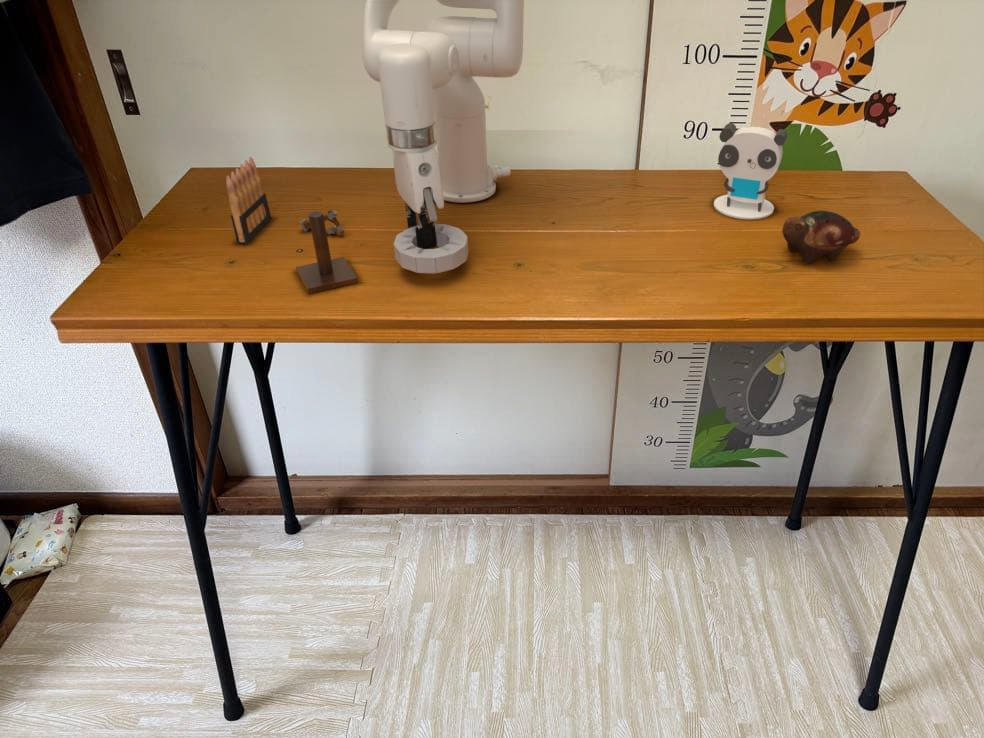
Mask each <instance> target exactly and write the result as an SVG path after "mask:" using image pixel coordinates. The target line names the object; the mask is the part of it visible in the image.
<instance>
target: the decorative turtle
mask: <svg viewBox="0 0 984 738" xmlns="http://www.w3.org/2000/svg"><path fill="white" fill-rule="evenodd" d="M781 232H782V236H783V238H784V240H785V241H786V246H787V250H788V252H790V253H797V252H799V254H800V256H801V257H802V260H803V262H804V263H805V264H806V265H810V264H811V265H812V264H813V263H815V262H816V261H817V260H819V259H820V258H821V257H824V258H825V259H826V261H828V262H834V261H835V260H836V259H837V258H838V257H839V256H840V255H841V254H842V252H843V251H844V250H845V249H846V248H847V247H848V246H850V245H853V244H855V243H856V242H857V241H858V240H859V239H860V237H861V232H860V230H859V229H858V228H857V227H854V226H853V224H852V223H851V222H850V220H848V219H847V218H846V217H844V216H843V215H840V214H838V213H837V212H833V211H827V210H815V211H811V212H808V213H805V214H803V215H801V216H798V215H793V216H790V217H788V218H787V219H786V221H784V223H783V226H782V229H781Z"/></svg>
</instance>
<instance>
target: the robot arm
mask: <svg viewBox="0 0 984 738" xmlns="http://www.w3.org/2000/svg"><path fill="white" fill-rule="evenodd" d="M399 1H400V0H366V2H365V5H364V11H363V25H362V26H363V28H362V60H363V65H364V69H365V71H366V73H367V75H368V76H369V78H371V80H373V81H376V82H378V83H379V84H380V92H381V101H382V109H383V116H384V126H385V131H386V132H385V133H386V141H387V146H388V148H390V149H391V150H392V157H393V160H392V161H393V169H394V170H393V171H394V179H395V185H396V189H397V193H398V195H399V196H400V198H401V199H402V200H403V201H404V206H405V215H406V223H407V229H408V228H410V227H414V226H417V227H415V230H416V239H417V247H418V248H421V249H435V248H437V247H436V246H437V243H436V232H435V224H436V222H437V221H438V215H437V212H436V211H437V210H436V208H437V209H439V210H443V209H444V207H445V201H446V202H450V203H461V204H462V203H463V204H464V203H465V204H467V203H476V202H480V201H483V200H486V199H488V198H490V197H492V196H493V195H494V194H495V193H496V190H497V184H496V182H495V181H497V179H499V178H507V177H510V176H511V168H510V167H509V166H503V167H500V166H499V164H493V165H488V147H487V146H488V145H487V118H486V116H487V115H486V114H487V113H486V99H485V96H484V93H483V92H482V90H481V88H480V87H479V85H478V83H477V82H476V80H475V79H474V78H473V77H478V78H479V77H481V78H501V79H502V78H503V79H504V78H512V77H514V76H516V75H517V74H518V73H519V71H520V69H521V67H522V64H523V63H522V62H523V53H524V52H523V51H524V17H525V13H524V12H525V0H436V1H437V2H438V3H439V4H440V5H442V6H445V7H449V8H455V9H457V8H459V9H475V10H476V9H478V10H492V11H493V12H495V14H496V18H495V17H494V18H493V17H476V16H457V15H455V16H454V15H452V16H451V15H450V16H441V17H437V18H435V19H433V20H432V21H430V22H429V24H427V26H426V28H425V31H420V30H419V31H418V30H404V29H403V30H402V29H388V27H389V20H390V17H391V15H392V12H393V10H394V8H395V7H396V6H397V4H398V3H399ZM436 148H437V150H436Z"/></svg>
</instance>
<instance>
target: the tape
mask: <svg viewBox="0 0 984 738" xmlns="http://www.w3.org/2000/svg"><path fill="white" fill-rule="evenodd" d="M415 227H417V226H414V227H410V228H408V227H407V229H405V230H403V231H401V232H399V233H398V234H396V237H395V240H394V242H393V249H394V250H393V251H394V257H395V260H396V262H397V263H398V264H399V266H400V267H401V268H402V269H405V270H407V271H411V272H413V273H417V274H439V273H443V272H444V273H445V272H448V271H452V270H455V269H456V268H458V267H460V266H461V265H463V264H464V263H466V262H467V261H468V256H469V237H468V235H467V234H466V233H465V232H464V230H462V229H461V228H459V227H456V226H452V225H449V224H445V223H435V232H436V243H437V246H436V247H435V248H429V249H421V248H418V247H417V239H416V230H415Z"/></svg>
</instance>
